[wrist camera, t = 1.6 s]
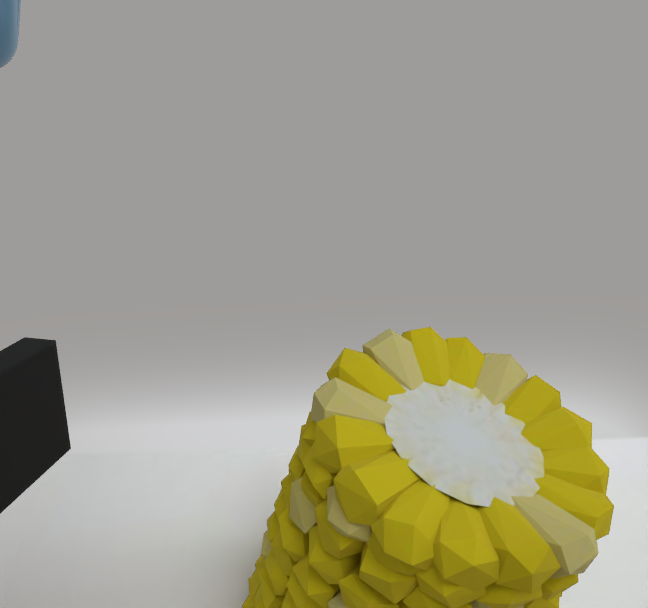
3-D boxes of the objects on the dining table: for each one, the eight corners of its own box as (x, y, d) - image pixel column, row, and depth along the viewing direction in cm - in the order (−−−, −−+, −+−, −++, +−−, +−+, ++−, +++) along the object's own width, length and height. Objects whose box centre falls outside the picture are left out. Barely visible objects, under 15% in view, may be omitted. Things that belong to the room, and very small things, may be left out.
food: (196, 691, 24) (326, 521, 32) (471, 903, 19) (549, 641, 27) (155, 405, 17) (340, 267, 24) (601, 633, 11) (660, 368, 19)
